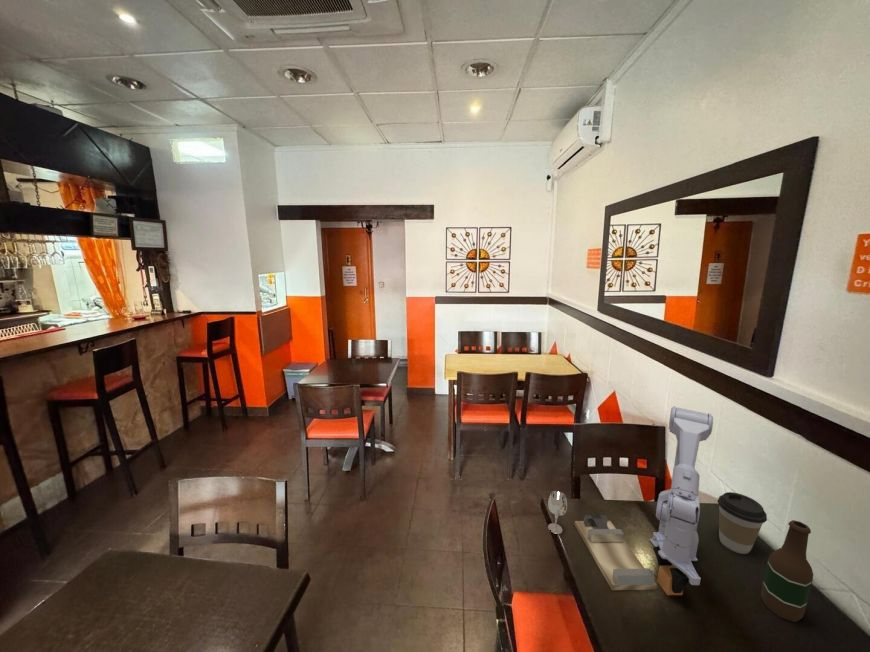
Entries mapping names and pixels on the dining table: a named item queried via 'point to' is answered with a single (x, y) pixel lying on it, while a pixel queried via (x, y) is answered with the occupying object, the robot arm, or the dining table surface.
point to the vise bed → (612, 557)
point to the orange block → (666, 579)
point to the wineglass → (557, 509)
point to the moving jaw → (602, 529)
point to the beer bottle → (789, 575)
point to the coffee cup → (739, 521)
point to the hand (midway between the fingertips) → (670, 583)
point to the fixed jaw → (633, 577)
